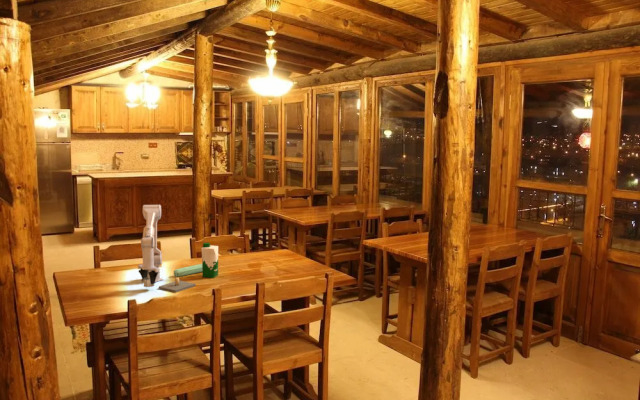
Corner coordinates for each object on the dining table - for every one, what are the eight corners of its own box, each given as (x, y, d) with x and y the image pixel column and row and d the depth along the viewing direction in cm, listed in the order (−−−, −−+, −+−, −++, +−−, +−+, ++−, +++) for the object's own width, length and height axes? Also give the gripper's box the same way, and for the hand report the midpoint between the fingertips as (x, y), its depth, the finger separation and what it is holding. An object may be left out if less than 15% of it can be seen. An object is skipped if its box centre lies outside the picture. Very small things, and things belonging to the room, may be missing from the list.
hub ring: (141, 285, 303) (141, 278, 302) (149, 283, 307) (149, 276, 307) (148, 287, 300) (148, 280, 300) (156, 285, 305) (156, 278, 304)
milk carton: (206, 273, 338) (205, 241, 335) (220, 274, 336) (219, 242, 333) (200, 277, 329) (199, 244, 326) (214, 278, 327) (214, 245, 325)
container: (175, 268, 328) (211, 260, 345) (171, 269, 332) (207, 262, 349) (177, 277, 327) (214, 269, 344) (173, 279, 331) (209, 271, 348)
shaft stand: (158, 288, 307) (158, 279, 306) (178, 282, 319) (178, 273, 319) (175, 292, 300) (175, 283, 299) (195, 285, 313) (195, 276, 312)
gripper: (133, 258, 302) (134, 282, 304) (151, 262, 295) (152, 287, 296) (143, 255, 308) (144, 279, 310) (162, 259, 301) (162, 283, 302)
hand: (148, 283), depth 304 cm, fingers closed on hub ring, 5 cm apart
